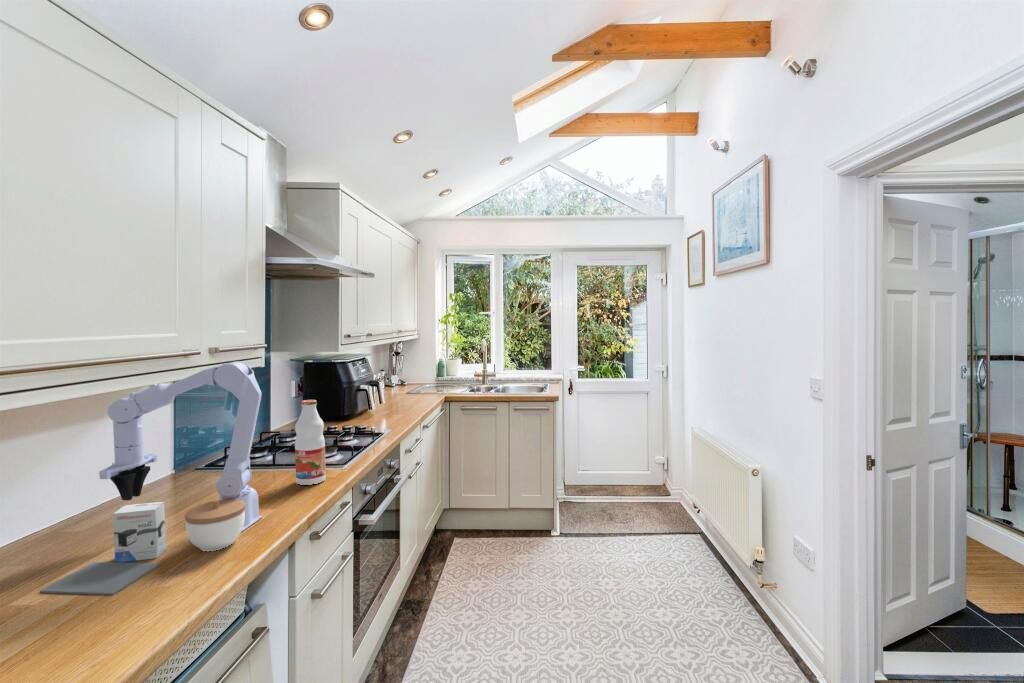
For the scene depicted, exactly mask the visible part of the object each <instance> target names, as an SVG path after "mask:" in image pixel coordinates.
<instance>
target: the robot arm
mask: <svg viewBox="0 0 1024 683" xmlns="http://www.w3.org/2000/svg"><path fill="white" fill-rule="evenodd" d="M150 385H151V384H150ZM203 385H209V386H216V385H218V386H219V387H221V388H222V389H224V390H226V391H228V392H230V393H232V394H233V395H234V397H236V398H237V399H238V400H239V401H238V406H237V412H236V416H235V421H234V422H235V423H234V427H233V433H232V437H231V443H230V447H229V451H228V456H227V460H226V462H225V465H224V468H223V470H222V471H223V472H222V474H221V476H219V479H218V480H217V482H216V484H215V488H216V489H215V490H216V492H217V494H219V496H218V497H219V498H218V500H223V499H238V500H242V501H244V502H245V522H244V526H243V529H242V531H241V533H243V531H245V530H246V529H248V528H249V527H251V526H252V525H254V524H255V523H256V522H258V521H259V520H260V518H261V517H262V518H263V516H262V515H260V514H259V513H260V512H259V511H260V510H259V495H258V492H257V491H256V489H255V488H253V487H251V486H250V485H249V482H251V479H252V476H253V475H252V469H251V462H252V461H251V458H250V456H251V451H252V446H253V441H254V435H255V430H256V424H257V420H258V415H259V409H260V405H261V400H262V394H263V393H262V391H261V389H260V385H259V383H258V381H257V379H256V377H255V372H254V369H252V368H251V367H250V366H249V365H248V364H246V363H245V362H243V361H240V360H237V361H231V362H229V363H224V364H221V365H218V366H213V367H209V368H205V369H203V370H201V371H198V372H196V373H194V374H193V373H192V374H191V375H189V376H187V377H184V378H183V379H181V380H178V381H176V382H174V383H171V384H167V383H162V382H160V383H157V384H155V385H151V386H149V385H148V388H145V389H143V390H140V391H138V392H135V391H133V392H130V393H129V394H128V396H127V397H124V398H118V399H116V400H115V401H113V402H112V403H111V404H110V405H109V406H108V408H107V415H108V417H109V419H110V420H112V426H113V427H112V428H113V429H112V430H113V431H112V432H113V433H112V434H113V451H114V462H112V463H111V465H110V466H108V467H106V468H104V469H102V470H99V474H98V476H99V479H100V480H109V479H110V480H111V481H112V483H113V484H114V486H115V488H116V489H117V490H118V493H119V496H120V498H121V501H131V500H133V497H135V498H136V497H141V494H142V490H143V488H144V487H143V486H144V483H145V480H146V478H147V476H148V474H149V472H150V471H151V466H150V465H148V464H150V463H156V462H157V461H158V456H157V453H149V454H146V455H144V454H145V452H144V434H143V433H144V431H143V430H144V429H143V415H146V414H149V413H152V412H154V411H156V410H159V409H161V408H163V407H165V406H168V405H171V404H172V403H173V402H174V400H175V398H176V397H177V395H181V394H183V393H185V392H188V391H190V390H191V391H192V390H193V389H196V388H198V387H201V386H203ZM262 518H261V519H262ZM253 523H254V524H253Z"/></svg>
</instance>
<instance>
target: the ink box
mask: <svg viewBox="0 0 1024 683" xmlns="http://www.w3.org/2000/svg"><path fill="white" fill-rule="evenodd" d="M165 514H166V513H165V502H163V501H159V502H158V501H157V502H145V503H144V502H143V503H135V504H125V505H124V506H122V507H120V508H119V509H117V510H116V511H114V512H113V513H112V521H113V522H112V525H113V542H114V547H113V548H114V562H117V563H122V562H123V563H131V562H137V561H144V560H150V559H151V560H153V559H158V558H159V557H160V556H161V555H162V554H163V553H164V551H166V550H167V542H166V541H167V540H166V539H167V538H166V519H165V518H166V517H165Z"/></svg>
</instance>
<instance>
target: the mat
mask: <svg viewBox="0 0 1024 683" xmlns="http://www.w3.org/2000/svg"><path fill="white" fill-rule="evenodd" d="M160 566H161V563H155V562H154V563H153V562H151V563H149V562H146V563H145V562H144V563H143V562H123V563H117V562H115V561H114V562H113V561H111V562H110V561H93V562H91V563H89V564H87V565H85V566H83V567H82V568H80V569H78V570H75V571H74V572H72V573H70V574H68V575H66V576H64V577H63V578H61V579H59V580H57V581H55V582H53V583H52V584H50V585H48V586H46V587H44V588H42V589H41V590H39V593H40V592H42V593H41V594H70V595H71V594H72V595H74V594H75V595H98V596H99V595H103V596H105V595H106V596H115V595H116V594H118V593H120V592H121V591H122V590H124V589H126V588H127V587H128V586H130V585H132V584H134V583H135V582H136V581H138V580H140V579H141V578H143V577H144V576H146V575H148V574H149V573H151V572H152V571H154V570H156V569H157V568H158V567H160ZM44 592H45V593H44ZM48 592H49V593H48Z"/></svg>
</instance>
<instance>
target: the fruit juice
mask: <svg viewBox="0 0 1024 683" xmlns="http://www.w3.org/2000/svg"><path fill="white" fill-rule="evenodd" d="M317 404H318V402H317V400H316V399H306V400H305V399H304V400H301V401H300V405H301V407H302V408H301V412H300V414H299V418H298V420H297V421H296V423H295V425H294V430H295V431H294V432H295V434H296V438H295V441H294V452H295V453H294V454H295V456H294V457H295V458H294V459H295V461H294V462H295V482H296V485H298V484H300V485H310V484H315V483H319V482H322V481H324V480H325V481H326V479H327V478H326V477H327V473H326V470H327V469H326V468H327V467H326V440H325V437H324V429H325V423H324V421H323V419H322V418H321V417H320V414H319V412H318V410H317ZM325 481H324V482H325ZM322 483H323V482H322ZM300 485H299V486H300Z"/></svg>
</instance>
